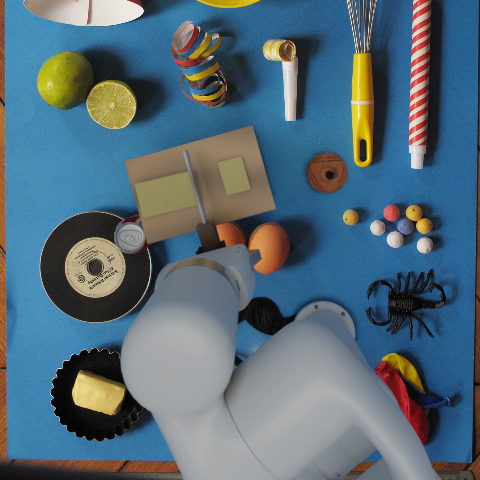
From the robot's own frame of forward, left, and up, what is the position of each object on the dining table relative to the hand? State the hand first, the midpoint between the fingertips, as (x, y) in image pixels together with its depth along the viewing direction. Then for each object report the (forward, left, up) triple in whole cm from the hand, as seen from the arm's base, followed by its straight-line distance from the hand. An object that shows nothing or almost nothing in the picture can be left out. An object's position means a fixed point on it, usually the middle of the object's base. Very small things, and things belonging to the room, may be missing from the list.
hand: (215, 254), depth 56 cm
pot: (+4, -22, -29) cm, 37 cm away
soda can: (+3, +16, -29) cm, 34 cm away
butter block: (+9, +5, -6) cm, 12 cm away
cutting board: (+9, 0, -29) cm, 31 cm away
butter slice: (+9, -3, -5) cm, 11 cm away
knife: (+5, 0, -1) cm, 5 cm away
